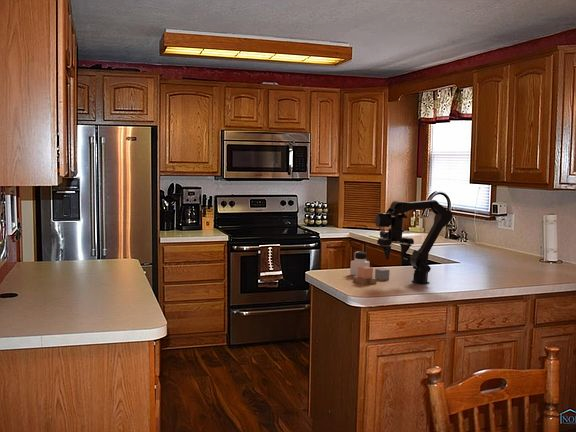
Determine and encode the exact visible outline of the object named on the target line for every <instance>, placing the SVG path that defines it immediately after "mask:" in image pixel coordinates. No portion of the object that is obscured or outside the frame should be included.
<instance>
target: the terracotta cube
mask: <svg viewBox="0 0 576 432" xmlns="http://www.w3.org/2000/svg"><path fill="white" fill-rule="evenodd" d="M373 270H374V268H373V267H370V266H369V267H368V266H362V267H358V277H360V278H363V279H369V278H372V277H373V275H374V274H373V272H374V271H373Z"/></svg>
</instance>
